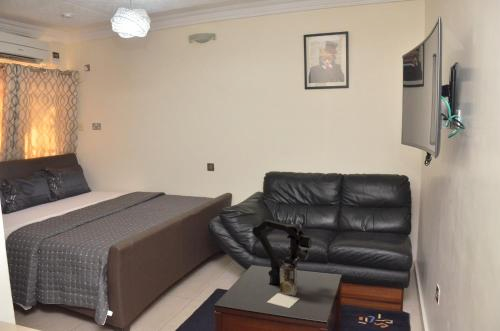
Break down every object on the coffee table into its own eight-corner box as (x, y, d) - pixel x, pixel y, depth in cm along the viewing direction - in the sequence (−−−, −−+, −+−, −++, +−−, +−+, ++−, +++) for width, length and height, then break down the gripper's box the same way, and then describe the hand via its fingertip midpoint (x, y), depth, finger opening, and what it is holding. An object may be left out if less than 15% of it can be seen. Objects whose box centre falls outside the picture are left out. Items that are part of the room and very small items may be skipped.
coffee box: (297, 291, 235) (297, 265, 233) (294, 296, 229) (295, 269, 227) (282, 289, 238) (282, 264, 236) (279, 294, 232) (279, 267, 230)
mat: (266, 302, 221) (266, 301, 221) (277, 293, 233) (277, 293, 233) (289, 308, 214) (289, 307, 214) (299, 298, 225) (299, 298, 225)
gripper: (300, 252, 225) (300, 278, 227) (312, 243, 241) (312, 268, 243) (283, 249, 231) (283, 274, 233) (296, 240, 247) (296, 264, 249)
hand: (294, 270), depth 239 cm, fingers closed
